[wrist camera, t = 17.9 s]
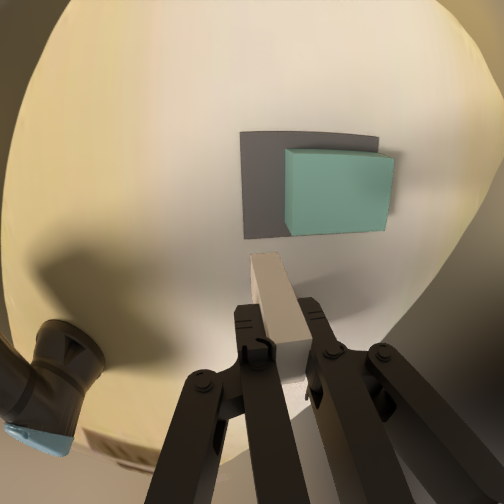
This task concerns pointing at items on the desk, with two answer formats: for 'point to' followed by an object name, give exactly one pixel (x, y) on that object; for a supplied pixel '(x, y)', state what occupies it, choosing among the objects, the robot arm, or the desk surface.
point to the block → (336, 191)
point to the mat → (280, 174)
